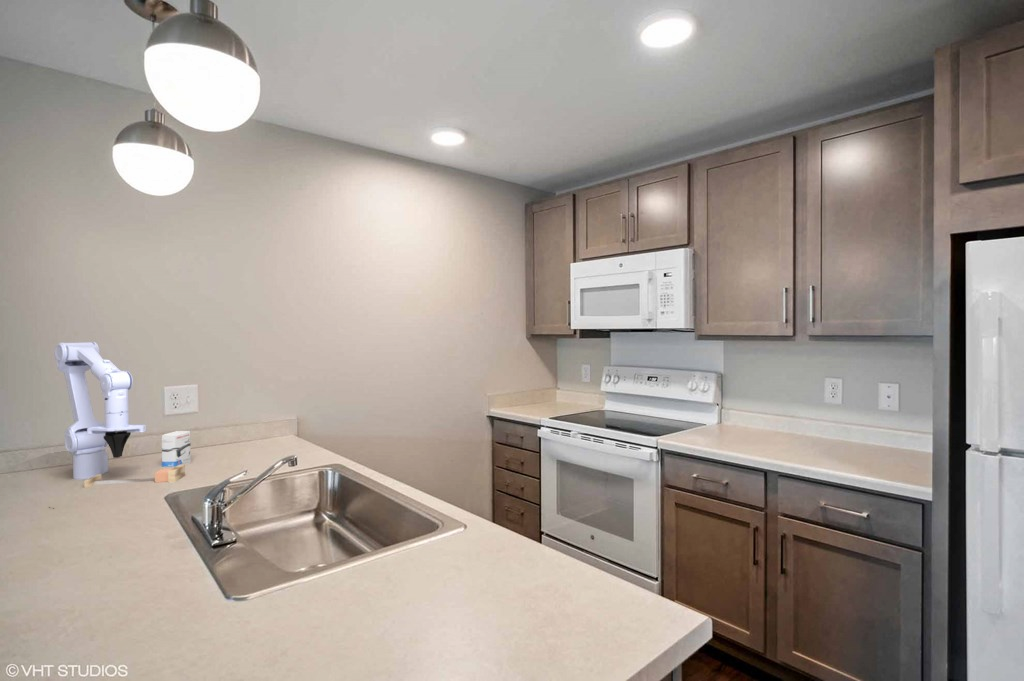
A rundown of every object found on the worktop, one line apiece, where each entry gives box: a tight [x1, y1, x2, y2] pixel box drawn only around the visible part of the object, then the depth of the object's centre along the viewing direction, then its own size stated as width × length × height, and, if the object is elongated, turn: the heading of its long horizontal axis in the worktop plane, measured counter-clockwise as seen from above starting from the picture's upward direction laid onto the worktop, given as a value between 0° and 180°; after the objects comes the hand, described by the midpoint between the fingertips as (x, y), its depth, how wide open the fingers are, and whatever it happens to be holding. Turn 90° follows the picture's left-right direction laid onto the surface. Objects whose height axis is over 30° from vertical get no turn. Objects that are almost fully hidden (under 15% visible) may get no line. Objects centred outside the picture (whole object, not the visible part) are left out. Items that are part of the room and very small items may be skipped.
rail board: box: [83, 464, 186, 489], centre depth 156 cm, size 7×24×4 cm, turn 102°
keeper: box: [154, 467, 174, 483], centre depth 158 cm, size 5×4×3 cm
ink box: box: [161, 430, 192, 468], centre depth 177 cm, size 8×5×12 cm, turn 179°
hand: (117, 456), depth 153 cm, fingers closed
